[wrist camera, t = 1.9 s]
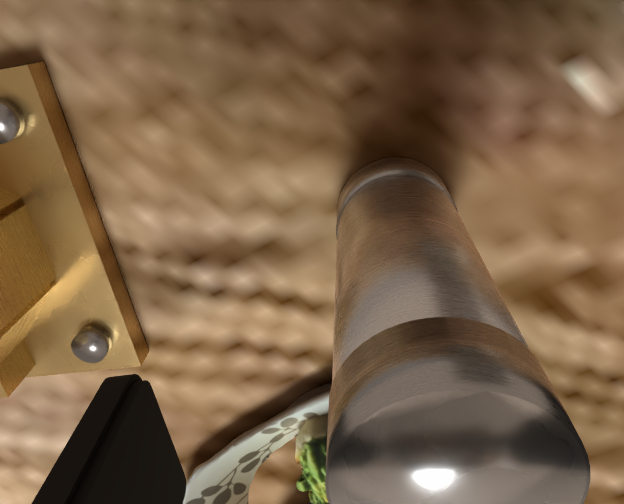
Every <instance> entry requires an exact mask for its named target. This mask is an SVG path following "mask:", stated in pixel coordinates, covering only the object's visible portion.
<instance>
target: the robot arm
mask: <svg viewBox="0 0 624 504" xmlns="http://www.w3.org/2000/svg"><path fill="white" fill-rule="evenodd" d="M185 493H186V478H185V474H184V472H183V469H182V466H181V464H180V461H179V458H178V456H177V453H176V450H175V448H174V445H173V442H172V440H171V437H170V434H169V432H168V429H167V427H166V424H165V421H164V419H163V416H162V413H161V411H160V408H159V405H158V403H157V400H156V397H155V395H154V392H153V389H152V387H151V385H150V383H149V382H148V381H146V380H145V381H142V379H141V377H139V376H138V375H136V374H132V375H123V376H115V377H108V378H106V379H105V380H104V382H103V383H102V385H101V386H100V388H99V390H98V391H97V393H96V395H95V397H94V398H93V400H92V402H91V403H90V405H89V407H88V408H87V410H86V412H85V414H84V415H83V417H82V419H81V420H80V422H79V424H78V426H77V427H76V429H75V431H74V432H73V434H72V436H71V437H70V439H69V441H68V443H67V444H66V446H65V448H64V449H63V451H62V453H61V454H60V456H59V458H58V460H57V461H56V463H55V465H54V466H53V468H52V470H51V472H50V473H49V475H48V477H47V478H46V480H45V482H44V483H43V485H42V487H41V489H40V490H39V492H38V494H37V495H36V497H35V499H34V501H33V502H32V504H183V501H184V498H185Z"/></svg>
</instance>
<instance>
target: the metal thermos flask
mask: <svg viewBox="0 0 624 504" xmlns="http://www.w3.org/2000/svg"><path fill="white" fill-rule="evenodd" d="M336 235H337V264H336V290H335V317H334V344H333V371H332V386H331V390H330V394H329V408H328V431H327V453H326V476H325V488H326V496H327V499H328V503H329V504H584V501H585V498H586V496H587V493H588V489H589V484H590V464H589V459H588V455H587V452H586V450H585V448H584V445H583V443H582V441H581V439H580V437H579V435H578V434H577V432H576V430H575V428H574V426H573V424H572V422H571V420H570V419H569V417H568V415H567V413H566V411H565V409H564V407H563V405H562V404H561V402H560V400H559V398H558V396H557V394H556V392H555V390H554V389H553V387H552V385H551V383H550V381H549V379H548V377H547V376H546V374H545V372H544V370H543V368H542V366H541V365H540V363H539V361H538V360H537V358H536V357H535V355H534V354H533V353H532V352H531V351H530V350H529V348H528V346H527V344H526V342H525V340H524V338H523V336H522V334H521V332H520V331H519V329H518V327H517V325H516V323H515V321H514V319H513V317H512V315H511V313H510V311H509V310H508V308H507V306H506V304H505V302H504V300H503V298H502V296H501V294H500V292H499V291H498V289H497V287H496V285H495V283H494V281H493V279H492V277H491V275H490V273H489V271H488V270H487V268H486V266H485V264H484V262H483V260H482V258H481V256H480V254H479V252H478V251H477V249H476V247H475V245H474V243H473V241H472V239H471V237H470V235H469V233H468V232H467V230H466V228H465V226H464V224H463V222H462V220H461V218H460V216H459V214H458V211H457V208H456V206H455V204H454V201H453V200H452V198H451V196H450V194H449V192H448V190H447V188H446V186H445V185H444V183H443V181H442V180H441V178H440V177H439V176H438V175H437V174H436V173H435V172H434V171H433V170H432V169H431V168H429V167H428V166H426V165H425V164H423V163H421V162H419V161H416V160H413V159H409V158H404V157H388V158H383V159H379V160H376V161H373V162H371V163H369V164H367V165H365V166H363V167H362V168H360V169H359V170H358V171H357V172H355V173H354V174H353V175H352V176H351V177H350V179H349V180H348V181H347V183H346V184H345V185H344V187H343V189H342V191H341V194H340V197H339V200H338V205H337V225H336Z"/></svg>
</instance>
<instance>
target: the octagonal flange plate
mask: <svg viewBox="0 0 624 504" xmlns="http://www.w3.org/2000/svg"><path fill="white" fill-rule="evenodd" d="M148 353H149V350H148V347H147V344H146V341H145V339H144V336H143V333H142V330H141V328H140V325H139V322H138V319H137V317H136V314H135V311H134V308H133V306H132V303H131V300H130V297H129V295H128V292H127V289H126V286H125V284H124V281H123V278H122V275H121V273H120V270H119V267H118V264H117V262H116V259H115V256H114V253H113V251H112V248H111V245H110V242H109V240H108V237H107V234H106V231H105V229H104V226H103V223H102V220H101V217H100V215H99V212H98V209H97V206H96V204H95V201H94V198H93V195H92V193H91V190H90V187H89V184H88V182H87V179H86V176H85V173H84V171H83V168H82V165H81V162H80V160H79V157H78V154H77V151H76V149H75V146H74V143H73V140H72V138H71V135H70V132H69V129H68V127H67V124H66V121H65V118H64V116H63V113H62V110H61V107H60V105H59V102H58V99H57V96H56V94H55V91H54V88H53V85H52V83H51V80H50V77H49V74H48V72H47V69H46V66H45V63H44V62H38V63H33V64H27V65H21V66H16V67H10V68H5V69H0V398H5V397H9V396H10V394H11V393H12V392H13V391H14V390H15V389H16V387H17V386H18V385H19V384H20V383H21V382H22V380H23V379H24V378H25V377H35V376H45V375H55V374H65V373H76V372H86V371H96V370H106V369H116V368H126V367H137V366H141V365H142V363H143V362H144V360H145V358H146V356H147V354H148Z"/></svg>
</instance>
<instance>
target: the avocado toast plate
mask: <svg viewBox="0 0 624 504" xmlns="http://www.w3.org/2000/svg"><path fill="white" fill-rule="evenodd" d="M331 386H332V383H329V384H325V385H322V386H320V387H318V388H315V389H313V390H310V391H308V392H306V393H305V394H303V395H302V396H300V397H299V398H298V399H296V400H295V401H294V402H293V403H292V404H291V405H290V406H289V407H288V408H287V409H286V410H284V411H283V412H281V413H279V414H278V415H276V416H274V417H272V418H271V419H269V420H268V421H266V422H263V423H261V424H259V425H257V426H256V427H254V428H253V429H251V430H248V431H246V432H244V433H243V434H241V435H240V436H238V437H237V438H236V439H234V440H233V441H231V442H230V443H229V444H228V445H227V446H226V447H225V448H223V449H222V450H220V451H219V452H218V453H216V454H215V455H214V456H213V457H211V458H210V459H209V460H208V461H206V462H204V463H202V464H200V465H199V466H197V467H196V468H195V469H194V471H193V472H192V474H191V475H190V477H189V478H188V481H187V484H186V493H185V498H184V501H183V504H248V492H249V487H250V484H251V483H252V480H253V478H254V475H255V472H256V470H257V469H258V467H259V466H260V465H261V464H262V463H263V462H264V461H265V460H267V459H268V457H269V455H270V454H271V453H272V452H273V451H275V450H276V449H278V448H280V447H282V446H283V445H284V444H285V443H286V442H288V441H289V440H291V439H293V438H294V437H296V436H297V438H296V453H295V458H296V462H297V463H298V464H300V465H301V467H302V475H301V476H300V477H299V479H298V480H297V483H296V484H297V488H298V490H299V491H302V492H303V491H308V490H309V498H310V502H309V503H308V504H329V503H328V499H327V496H326V488H325V476H326V453H327V431H328V408H329V394H330V390H331Z"/></svg>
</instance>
